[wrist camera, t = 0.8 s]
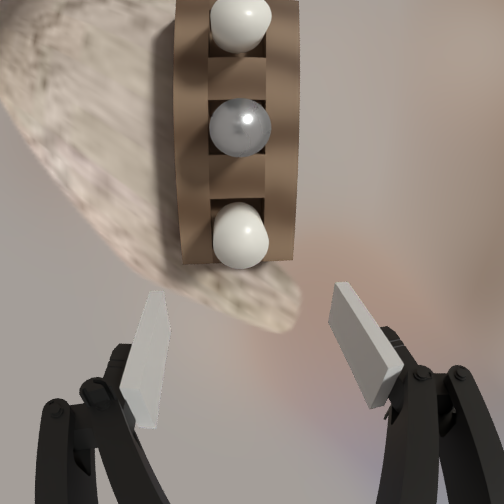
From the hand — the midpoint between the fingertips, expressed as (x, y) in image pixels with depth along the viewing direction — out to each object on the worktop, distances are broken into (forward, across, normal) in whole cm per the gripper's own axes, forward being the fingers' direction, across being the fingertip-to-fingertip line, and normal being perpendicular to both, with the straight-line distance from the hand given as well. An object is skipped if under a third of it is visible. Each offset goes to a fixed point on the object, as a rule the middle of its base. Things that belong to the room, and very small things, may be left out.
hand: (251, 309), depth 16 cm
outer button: (+13, 0, 0) cm, 13 cm away
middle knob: (+13, 0, +9) cm, 16 cm away
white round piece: (+13, 0, +18) cm, 22 cm away
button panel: (+17, 0, +9) cm, 20 cm away
